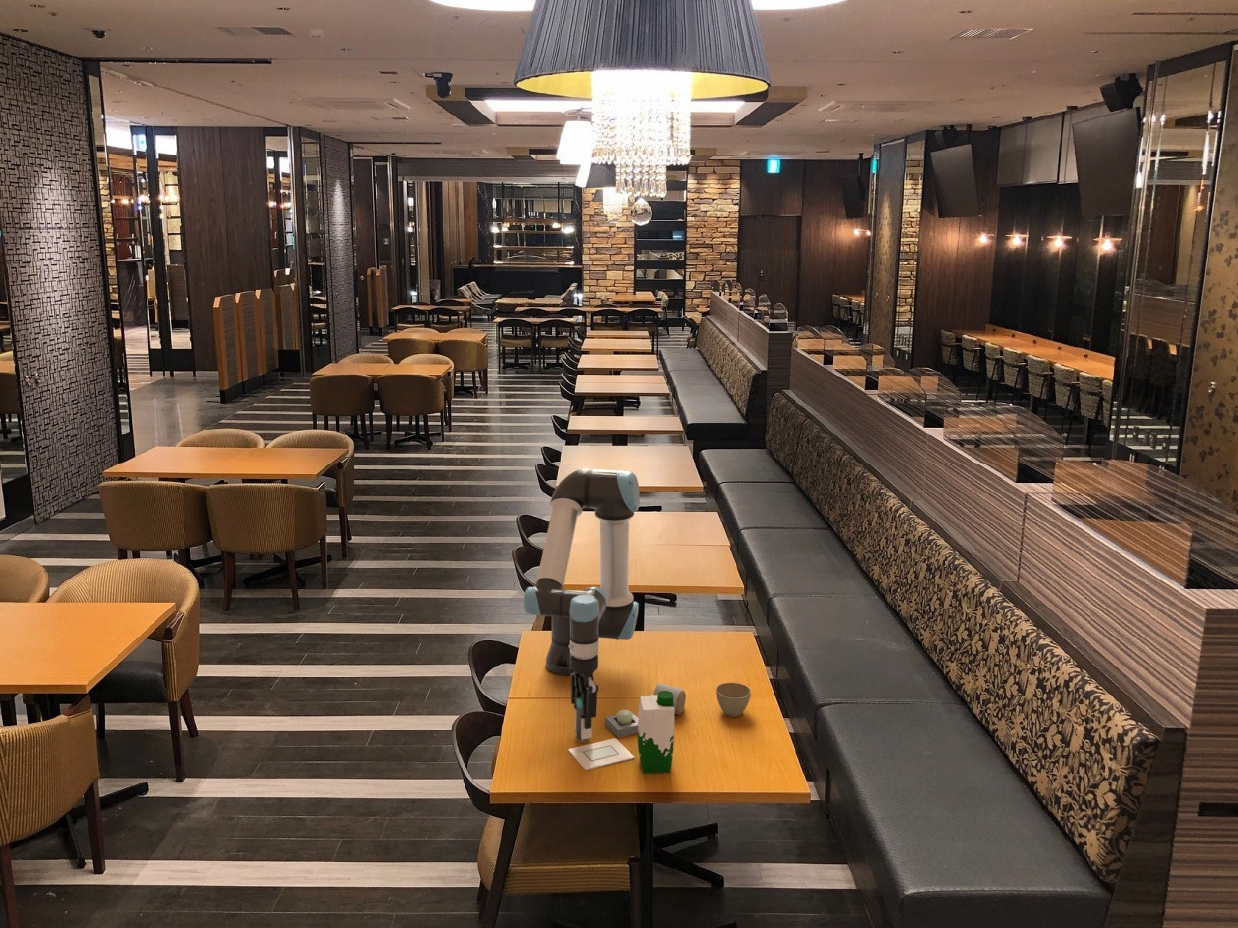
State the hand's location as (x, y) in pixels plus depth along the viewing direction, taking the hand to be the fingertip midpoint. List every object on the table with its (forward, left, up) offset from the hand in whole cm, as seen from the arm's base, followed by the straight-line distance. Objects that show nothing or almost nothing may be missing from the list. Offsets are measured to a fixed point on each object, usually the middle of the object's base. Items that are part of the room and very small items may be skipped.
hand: (583, 734), depth 281 cm
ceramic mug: (-6, +30, -2) cm, 30 cm away
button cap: (-1, +13, 0) cm, 13 cm away
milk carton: (+20, +11, -2) cm, 23 cm away
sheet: (+9, +1, -2) cm, 9 cm away
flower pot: (+4, +45, -2) cm, 45 cm away
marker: (0, 0, -2) cm, 2 cm away
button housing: (-1, +13, -2) cm, 13 cm away
